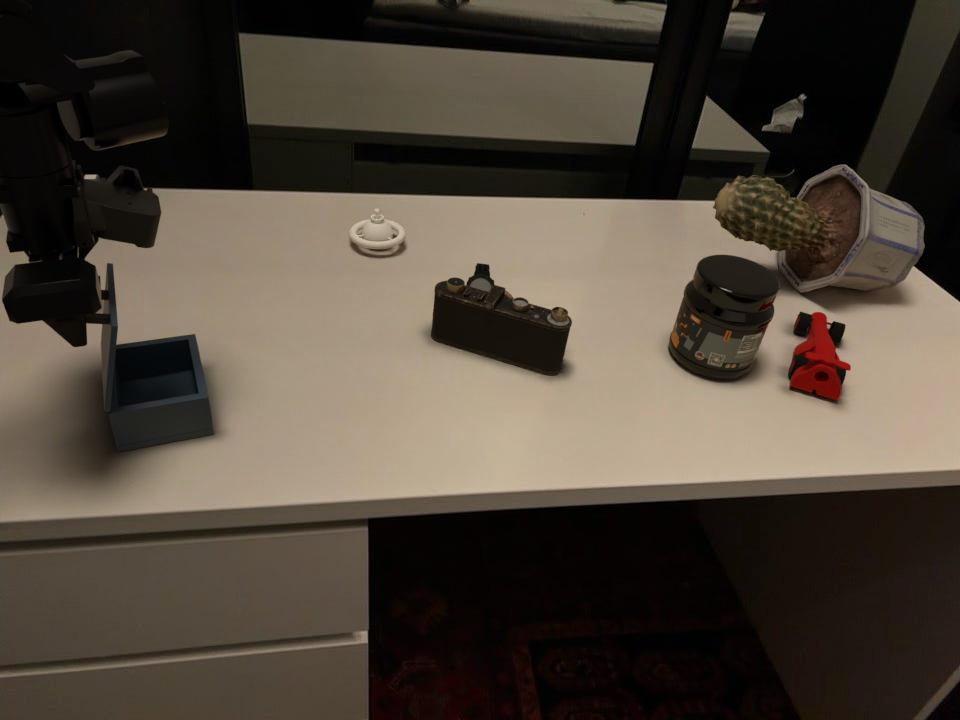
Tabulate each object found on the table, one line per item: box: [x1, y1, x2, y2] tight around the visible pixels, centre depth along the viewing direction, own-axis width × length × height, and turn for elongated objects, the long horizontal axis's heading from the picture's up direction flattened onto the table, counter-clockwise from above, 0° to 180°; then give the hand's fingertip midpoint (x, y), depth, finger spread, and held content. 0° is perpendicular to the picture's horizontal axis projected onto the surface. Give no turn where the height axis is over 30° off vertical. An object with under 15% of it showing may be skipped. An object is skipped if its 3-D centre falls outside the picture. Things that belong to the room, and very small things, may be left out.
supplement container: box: [668, 254, 781, 380], centre depth 89 cm, size 10×10×12 cm
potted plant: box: [712, 164, 926, 293], centre depth 105 cm, size 18×18×30 cm
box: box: [107, 333, 215, 453], centre depth 73 cm, size 9×11×5 cm
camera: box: [430, 277, 573, 376], centre depth 87 cm, size 16×7×8 cm, turn 70°
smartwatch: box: [465, 262, 496, 291], centre depth 96 cm, size 4×5×5 cm
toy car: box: [787, 311, 852, 401], centre depth 93 cm, size 6×18×5 cm, turn 158°
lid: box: [86, 262, 119, 412], centre depth 66 cm, size 9×11×4 cm
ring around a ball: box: [348, 208, 407, 250], centre depth 104 cm, size 8×6×8 cm
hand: (80, 329), depth 66 cm, fingers closed on lid, 5 cm apart
